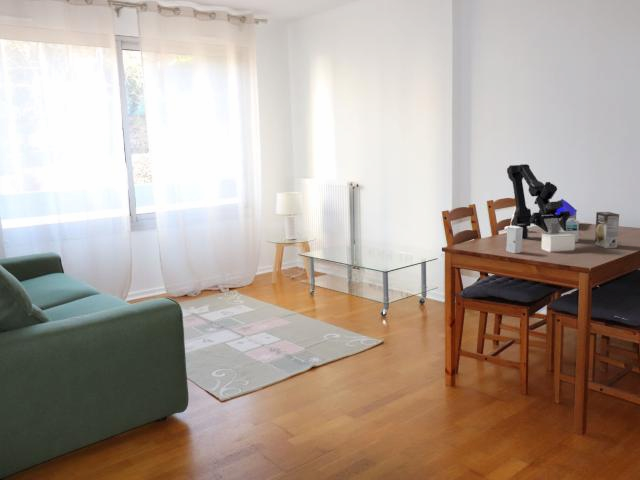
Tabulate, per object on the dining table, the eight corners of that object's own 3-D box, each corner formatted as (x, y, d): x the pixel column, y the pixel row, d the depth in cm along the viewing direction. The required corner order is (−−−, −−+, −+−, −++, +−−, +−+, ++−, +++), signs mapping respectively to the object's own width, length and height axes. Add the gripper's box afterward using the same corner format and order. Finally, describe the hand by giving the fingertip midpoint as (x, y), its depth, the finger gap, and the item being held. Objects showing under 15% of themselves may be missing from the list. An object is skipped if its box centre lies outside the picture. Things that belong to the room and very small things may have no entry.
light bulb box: (578, 242, 286) (579, 221, 284) (564, 242, 288) (564, 221, 286) (573, 238, 297) (574, 218, 295) (559, 238, 298) (560, 218, 296)
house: (547, 223, 352) (548, 197, 349) (576, 224, 344) (577, 198, 341) (541, 229, 330) (542, 202, 327) (572, 230, 322) (573, 202, 320)
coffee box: (594, 244, 279) (595, 212, 276) (606, 244, 279) (608, 211, 276) (604, 248, 270) (606, 214, 267) (617, 247, 270) (619, 213, 267)
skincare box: (505, 251, 270) (506, 226, 268) (513, 250, 272) (513, 225, 270) (515, 253, 264) (515, 227, 262) (522, 252, 266) (523, 227, 264)
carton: (541, 249, 273) (541, 234, 271) (564, 247, 274) (565, 233, 273) (550, 252, 265) (550, 237, 264) (574, 250, 266) (574, 235, 265)
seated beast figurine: (503, 230, 330) (503, 209, 328) (517, 229, 331) (518, 208, 328) (510, 232, 321) (510, 211, 318) (525, 232, 321) (525, 210, 319)
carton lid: (541, 234, 272) (541, 223, 271) (565, 232, 273) (565, 221, 272) (550, 237, 263) (551, 225, 262) (575, 235, 265) (576, 224, 264)
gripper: (533, 195, 271) (544, 222, 262) (569, 194, 273) (582, 219, 264) (524, 210, 280) (535, 236, 271) (559, 208, 282) (571, 233, 273)
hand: (556, 231), depth 270 cm, fingers open, 9 cm apart
